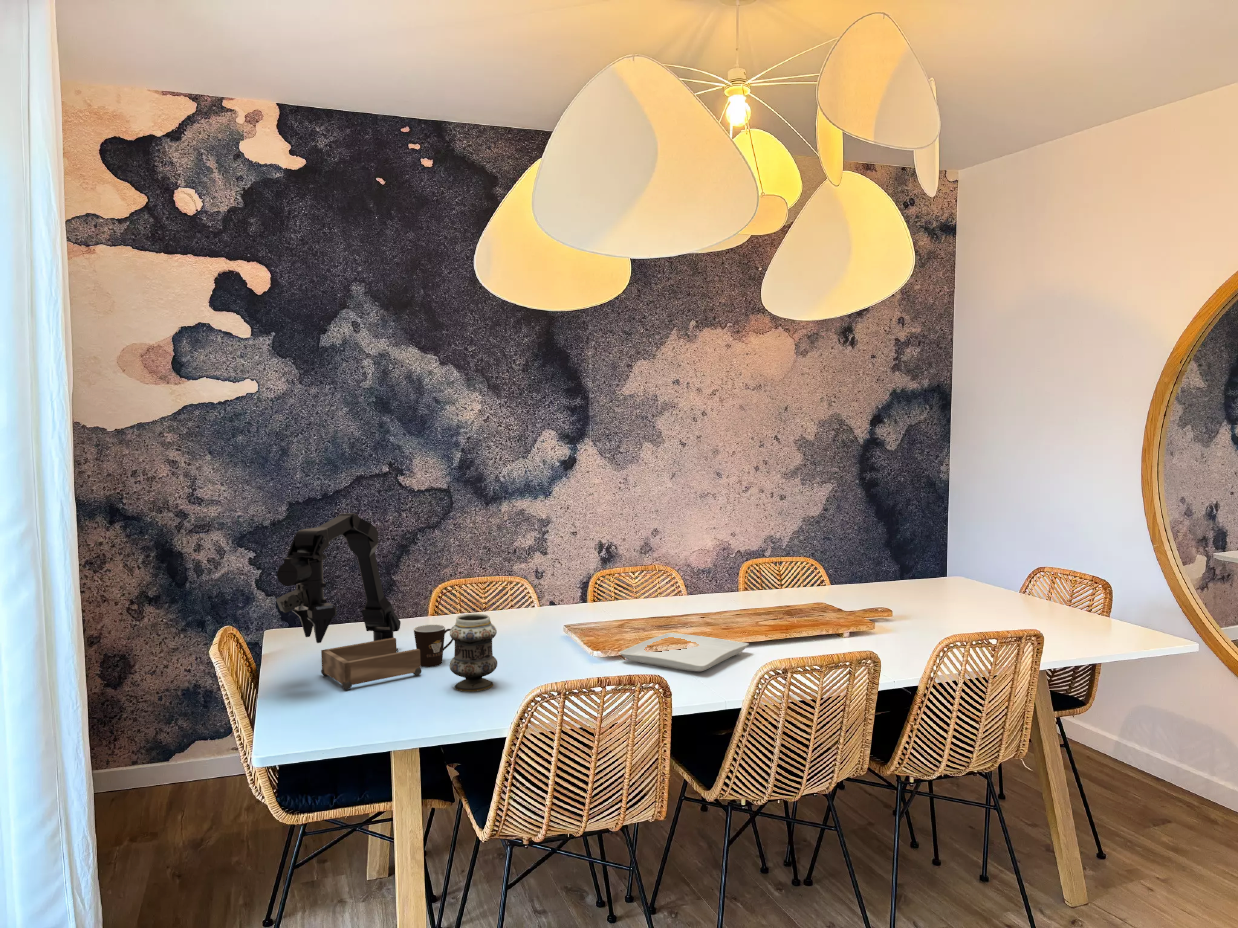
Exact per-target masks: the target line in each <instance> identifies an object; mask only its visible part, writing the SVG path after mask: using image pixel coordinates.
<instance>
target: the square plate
mask: <svg viewBox="0 0 1238 928" xmlns="http://www.w3.org/2000/svg"><path fill="white" fill-rule="evenodd" d="M668 637H674V638H681V639H685V640H687V641H691V642H696V643H697V644H699V645H700V646H698V647H693V648H687V649H681V650H669V651H662V652H646V651H645V650H644V649H645V647H647V645H650V644H652V643H653V642H656V641H659V640H661V639H664V638H668ZM749 645H750V643H748V642H743V641H742V642H741V641H736V640H731V639H730V640H729V639H723V638H717V637H710V636H704V635H696V634H686V633H675V632H667V633H664V634H661V635H658V636H655V637H652V638H649V639H647V640H644V641H642V642H639V643H637V644H635V645H632V646H630V647H628V648H626V649H625V648H624V650H621V651H619V652H618V653H619V655H620V656H622V657H623V658H624V659H626V660H628V661H630V662H635V663H641V664H645V665H651V666H654V667H655V666H656V667H661V668H662V667H663V668H668V669H674V670H680V671H684V672H685V671H686V672H704V671H706V670H708V669H711V668H712V667H714V666H716V665H718V664H720V663H722V662H724V661H726V660H728V659H730V658H731V657H734V656H736V655H738V654H740V653H742V652H743V651H744V650H745V649H747V647H748V646H749Z"/></svg>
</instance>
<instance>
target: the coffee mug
mask: <svg viewBox="0 0 1238 928" xmlns="http://www.w3.org/2000/svg"><path fill="white" fill-rule="evenodd" d="M450 630H451V628H447V629H446V626H445V625H442V624H425V625H418V626H416V627H414V628H413V634H414V641H415V647H416V648H415V649H419V650H420V663H421V668H422V667H424V668H432V667H433V668H434V667H438V666H441V665H442V664H443V658H444V651H445V650H446V649H447V648H448V647H449V646H450V645H451V644H452V643H453V642H454V640H453V639H452V638H451V639H450V641H449V642H448V643H446V645H445V646H444V644H445V636H446V633H447V632H450Z"/></svg>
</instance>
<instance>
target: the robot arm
mask: <svg viewBox="0 0 1238 928" xmlns="http://www.w3.org/2000/svg"><path fill="white" fill-rule="evenodd" d="M339 536H342V537H343V538H344V539H345V540H346V542H347V546H348V548H349V550H350V551H351V552H352V553H353V554H354V555H355V556H356V558H357V561H358V566H359V570H360V576H361V581H362V585H363V589H364V594H365V598H366V599H365V600H366V603H365V605H364V607H363V609H362V610H361V615H362V618H363V619H362V621H363V623H364V626H365V631H366V632H372V633H373V634H372V636H373V641H377V640H383V639H389V638H395V637H394V632H399V631H400V630H401V620H400V619H399V617H398V615H397V614H396V613H395V611H394V608H393V606H392V605H393V604H392V603H391V602H390V600H388V598H386V596H385V594H384V590H383V585H382V580H381V576H380V571H379V566H378V562H377V556H376V550H377V547H378V546H379V531H378V529H377V527H376V526H374V525H373V524H372V523H371V522H369V521H367V520H366V519H363V518H362V517H360V516H359V515H358V514H356V513H352V512H350V513H347V512H346V513H345V512H343V513H340V514H339V515H337V516H336V517H335V518H332V519H330V520H328V521H327V522H324V523H323V524H321V525H319V526H317V527H310V528H305V529H299V530H297V532H295V535H294V537H293V539H292V542H291V544H290V547H289V550H288V553H287V555H286V557H285V558H284V559H283V563H282V564H280V566H279V567H278V569H277V572H276V577H277V580H278V582H279V584H281V585H282V586H284V587H292V586H295V589H294V590H292V591H289V592H287V593H285V594H283V595H281V596H279V597H277V598H276V599H275V602H276V603H277V606H278V608H279V610H280V612H283V613H285V614H286V613H289V612H292V613H294V614H295V615H297V616H298V618H299V620H300V623H301V626H302V630H303V634H304V636H305V638H310V637H311V635H312V632H313V631H314V638H315V642H316V644H321V643H322V642H323V639H324V637H325V634H326V632H327V630H328V628H329V626H330V624H331V622H332V620H333V618H334V617H336V616H337V615H338V609H337V607H336V606H335V605H333V603H329V602H327V598H324V597H325V595H324V593H325V592H324V588H327V583H326V582H324V566H323V565H324V563H323V561H324V560H327V558H328V556H327V555H326V553H323V552H324V551H325V550H327V548H329V546H330V542H331V541H332V540H334V539H335V538H338V537H339ZM396 650H397V652H399V648H397V647H396Z"/></svg>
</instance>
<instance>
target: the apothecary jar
mask: <svg viewBox="0 0 1238 928" xmlns="http://www.w3.org/2000/svg"><path fill="white" fill-rule="evenodd" d="M450 629H451V630H450V631H449V637H450V638H451V639H453V642H454V654H453V655H454V657H452V658H451V660H450V662H449V671H450V672H451V673H452V674H454V675H456V676H457V677H461V678H465V679H462V680H460V681H459V682H456V683H455V684H454V689H455V690H456V691H458V692H459V691H460V692H465V693H476V692H483V691H488V690H490V689H491V688H493V687H494V682H493V681H492V680H489V679H487V678H485V677H486V676H488V675H490V674H492V673H494V671H495V670H496V669H497V667H498V659H497V658H496V657H495V656H493V639H494V638H495V637H496V635H497V627H496V626H495V625H494V624H493V623H492V621H491V617H490V615H488V614H485V613H464V614H460V615H458V616H456V619H455V623H454V625H453V626H452V627H451V628H450Z"/></svg>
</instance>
